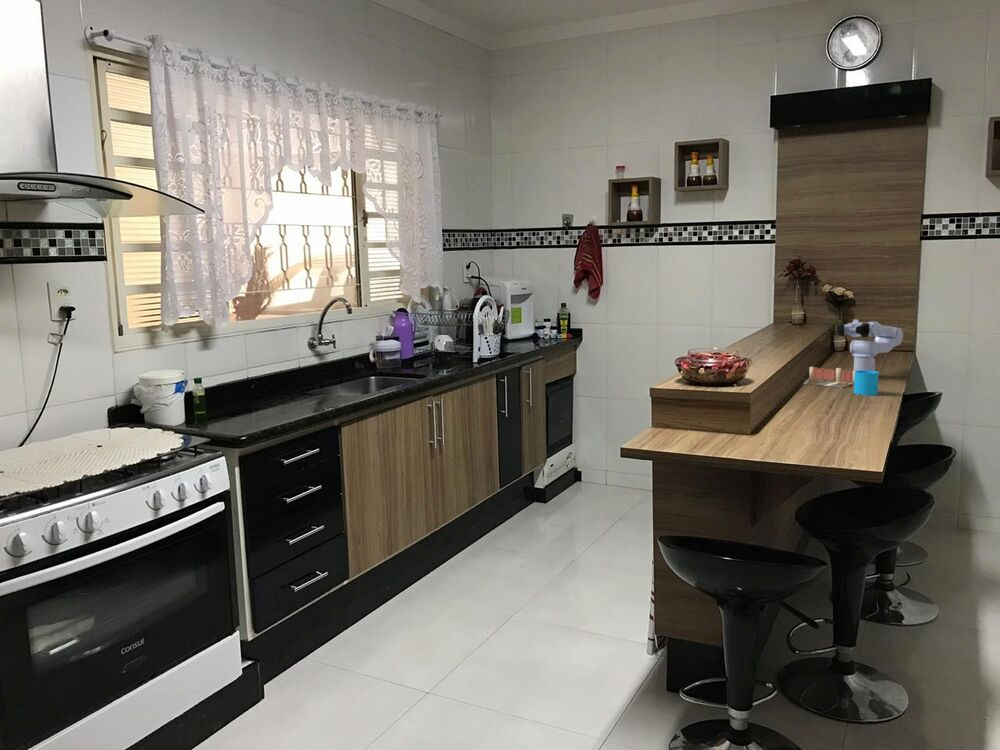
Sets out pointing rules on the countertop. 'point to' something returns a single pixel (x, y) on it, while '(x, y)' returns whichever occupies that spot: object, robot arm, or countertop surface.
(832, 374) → the fence panel
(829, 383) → the board
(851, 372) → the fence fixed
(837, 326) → the robot arm
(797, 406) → the countertop surface
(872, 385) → the mug
